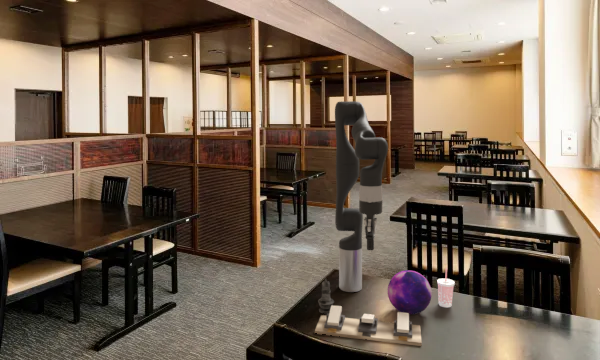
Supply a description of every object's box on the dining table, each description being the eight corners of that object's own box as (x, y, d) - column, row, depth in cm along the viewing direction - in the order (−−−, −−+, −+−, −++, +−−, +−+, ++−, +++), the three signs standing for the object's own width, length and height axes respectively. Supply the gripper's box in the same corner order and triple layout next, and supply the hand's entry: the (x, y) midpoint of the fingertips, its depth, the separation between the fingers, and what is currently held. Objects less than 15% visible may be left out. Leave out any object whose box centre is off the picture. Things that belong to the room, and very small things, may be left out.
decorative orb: (387, 301, 153) (387, 263, 151) (428, 304, 150) (429, 265, 148) (387, 320, 138) (388, 278, 136) (433, 324, 135) (434, 281, 133)
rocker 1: (331, 307, 139) (331, 305, 138) (341, 309, 138) (341, 306, 137) (327, 324, 131) (327, 322, 131) (338, 326, 131) (338, 323, 130)
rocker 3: (397, 314, 133) (397, 311, 133) (408, 316, 132) (408, 313, 132) (396, 331, 126) (397, 328, 125) (408, 333, 125) (409, 330, 125)
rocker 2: (363, 317, 136) (363, 313, 136) (374, 318, 135) (374, 314, 135) (361, 322, 128) (361, 318, 129) (372, 323, 127) (373, 319, 128)
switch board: (321, 317, 141) (321, 307, 140) (420, 328, 132) (420, 317, 132) (314, 333, 130) (314, 322, 130) (421, 346, 122) (421, 334, 121)
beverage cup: (457, 305, 148) (458, 268, 147) (447, 309, 145) (448, 272, 143) (443, 299, 153) (444, 264, 152) (432, 303, 150) (433, 267, 148)
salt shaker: (333, 306, 149) (333, 275, 148) (335, 313, 143) (335, 281, 142) (317, 307, 149) (317, 275, 147) (318, 314, 143) (318, 282, 142)
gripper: (361, 194, 140) (361, 243, 142) (357, 202, 127) (356, 255, 130) (383, 195, 138) (382, 244, 140) (381, 202, 125) (380, 256, 128)
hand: (370, 249), depth 135 cm, fingers closed
